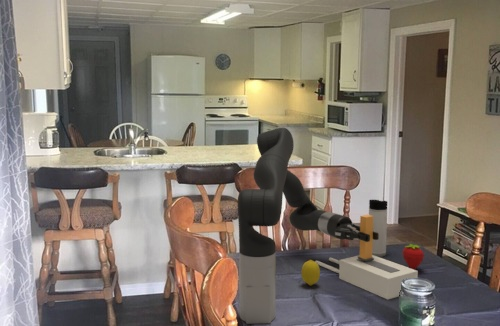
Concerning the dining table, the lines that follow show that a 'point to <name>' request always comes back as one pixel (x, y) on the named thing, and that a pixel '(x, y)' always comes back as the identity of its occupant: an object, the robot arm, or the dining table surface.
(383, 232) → the travel mug
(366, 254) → the handle
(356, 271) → the switch box
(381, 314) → the dining table surface
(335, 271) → the cords
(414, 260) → the strawberry
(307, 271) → the lemon
